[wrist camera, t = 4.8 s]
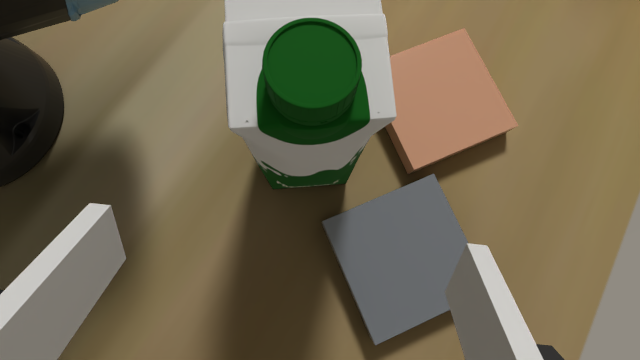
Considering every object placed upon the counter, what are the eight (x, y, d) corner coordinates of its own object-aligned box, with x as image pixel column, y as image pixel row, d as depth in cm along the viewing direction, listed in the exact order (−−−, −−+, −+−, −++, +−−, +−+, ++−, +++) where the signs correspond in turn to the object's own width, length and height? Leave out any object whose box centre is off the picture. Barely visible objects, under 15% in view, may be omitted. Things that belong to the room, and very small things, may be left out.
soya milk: (263, 199, 33) (200, 125, 13) (258, 108, 35) (196, -77, 15) (356, 192, 33) (429, 111, 14) (347, 102, 35) (399, -84, 15)
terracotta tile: (360, 76, 36) (363, 66, 34) (455, 39, 37) (464, 27, 35) (407, 174, 34) (414, 169, 32) (506, 132, 35) (518, 125, 33)
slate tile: (321, 223, 33) (322, 221, 31) (426, 177, 34) (433, 173, 32) (370, 339, 31) (375, 345, 29) (480, 287, 32) (491, 289, 30)
